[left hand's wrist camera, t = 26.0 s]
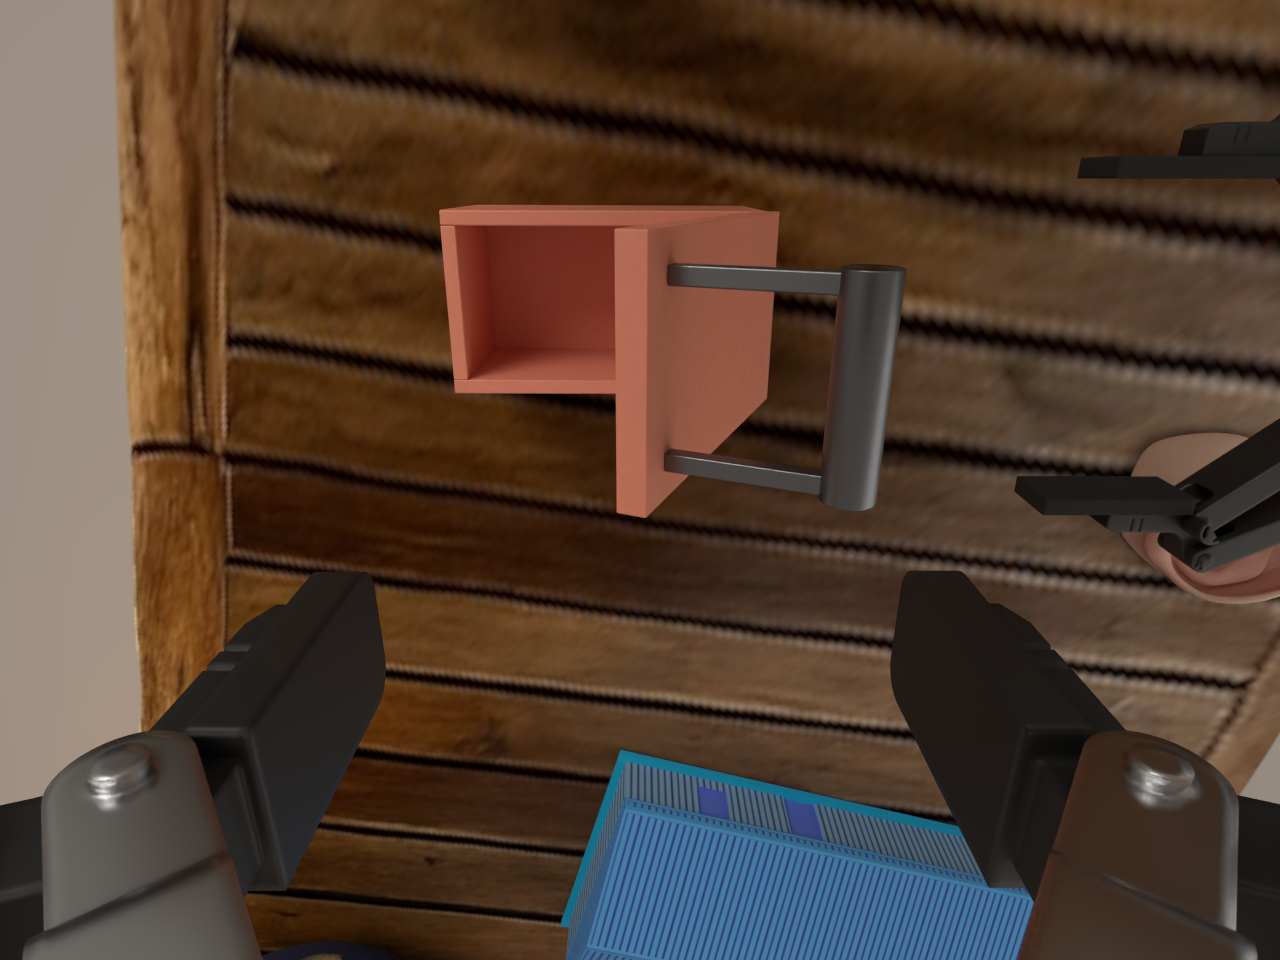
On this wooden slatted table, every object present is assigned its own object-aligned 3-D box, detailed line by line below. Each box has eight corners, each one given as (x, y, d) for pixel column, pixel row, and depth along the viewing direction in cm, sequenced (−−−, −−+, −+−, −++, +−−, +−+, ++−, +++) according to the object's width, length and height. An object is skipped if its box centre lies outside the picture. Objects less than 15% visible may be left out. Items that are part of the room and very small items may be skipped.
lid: (616, 513, 27) (864, 557, 24) (613, 228, 23) (905, 236, 20) (746, 396, 41) (910, 414, 38) (757, 211, 38) (938, 214, 35)
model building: (553, 944, 71) (540, 1059, 62) (622, 745, 62) (619, 843, 53) (934, 1019, 75) (976, 1138, 66) (1049, 842, 66) (1115, 950, 57)
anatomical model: (1143, 476, 49) (1327, 418, 48) (1107, 455, 53) (1278, 401, 51) (1163, 638, 54) (1332, 589, 52) (1129, 608, 57) (1286, 563, 56)
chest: (487, 357, 51) (454, 393, 42) (476, 204, 47) (438, 209, 38) (735, 358, 51) (755, 394, 42) (743, 205, 47) (766, 210, 38)
